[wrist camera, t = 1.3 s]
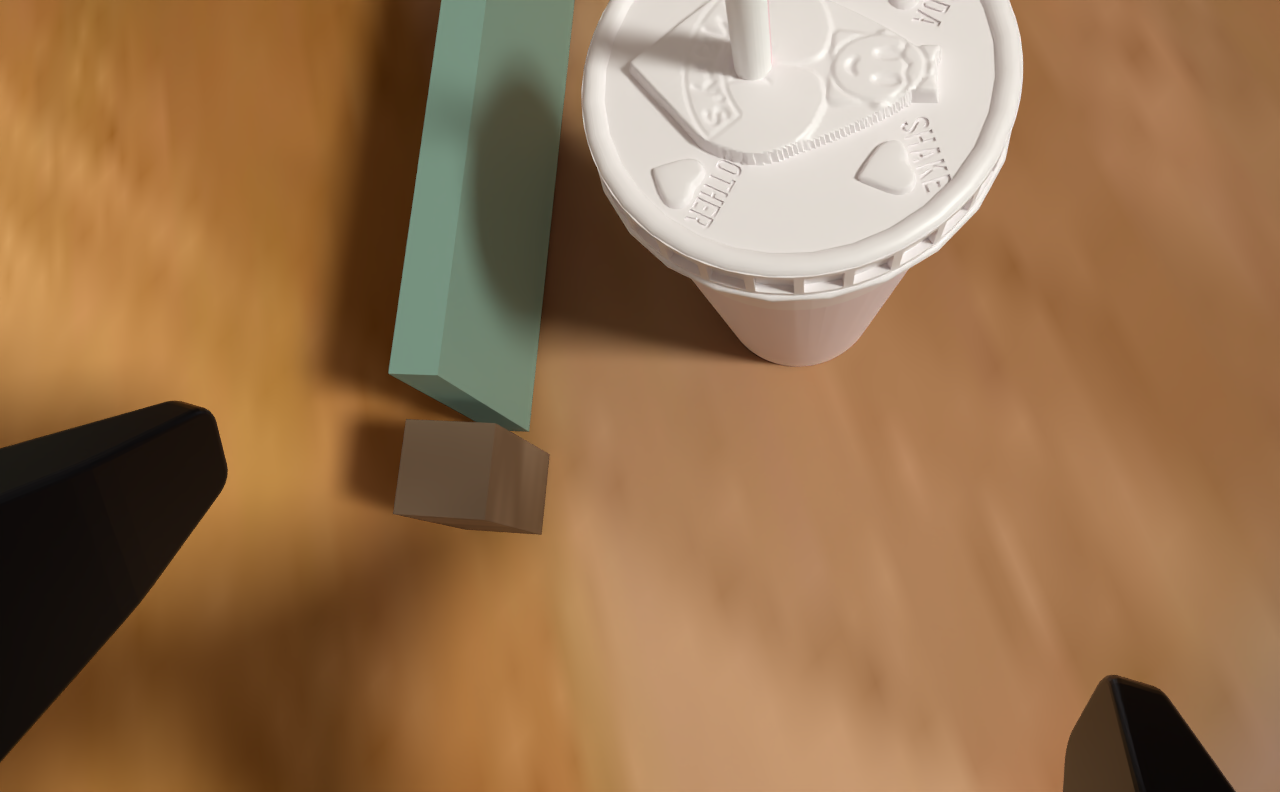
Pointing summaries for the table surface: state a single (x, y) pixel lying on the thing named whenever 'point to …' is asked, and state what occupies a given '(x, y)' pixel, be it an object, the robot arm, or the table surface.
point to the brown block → (471, 477)
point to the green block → (484, 208)
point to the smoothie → (799, 148)
